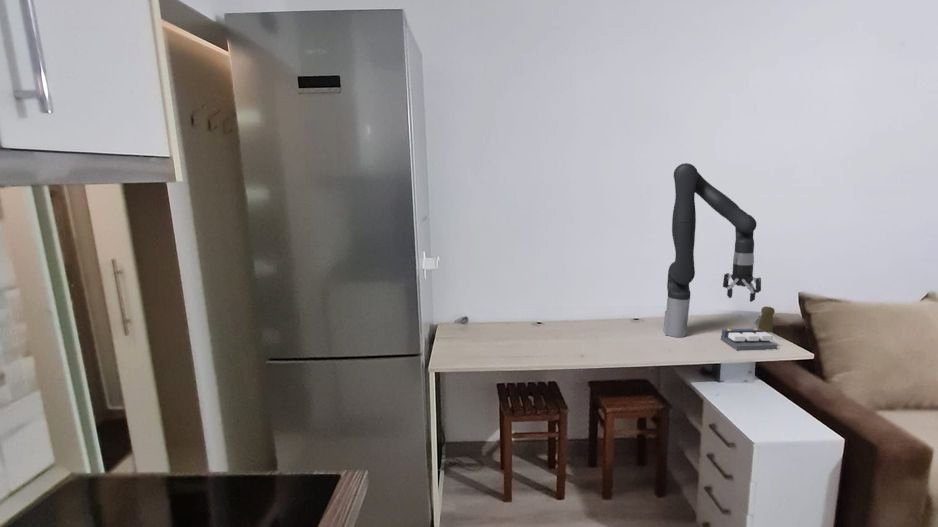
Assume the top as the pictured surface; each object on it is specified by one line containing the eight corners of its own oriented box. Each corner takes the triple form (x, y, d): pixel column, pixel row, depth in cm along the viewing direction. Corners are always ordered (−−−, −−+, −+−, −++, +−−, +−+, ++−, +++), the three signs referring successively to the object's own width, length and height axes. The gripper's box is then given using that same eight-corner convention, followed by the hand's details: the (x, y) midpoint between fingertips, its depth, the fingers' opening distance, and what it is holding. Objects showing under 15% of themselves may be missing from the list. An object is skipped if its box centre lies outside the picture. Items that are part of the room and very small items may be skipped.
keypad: (736, 350, 206) (738, 338, 205) (720, 339, 218) (722, 328, 217) (776, 349, 207) (778, 337, 206) (758, 339, 219) (759, 327, 218)
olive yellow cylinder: (774, 332, 227) (778, 309, 224) (760, 331, 228) (763, 308, 225) (769, 328, 232) (773, 305, 230) (755, 327, 234) (758, 304, 231)
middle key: (748, 340, 208) (748, 336, 208) (741, 336, 213) (742, 332, 212) (758, 340, 209) (759, 336, 208) (752, 336, 213) (752, 332, 213)
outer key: (762, 340, 209) (762, 336, 208) (755, 336, 213) (755, 332, 213) (772, 340, 209) (773, 335, 209) (765, 336, 214) (766, 332, 213)
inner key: (734, 341, 208) (735, 336, 208) (728, 337, 212) (728, 332, 212) (745, 341, 208) (745, 336, 208) (738, 337, 213) (739, 332, 212)
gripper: (721, 262, 212) (719, 298, 216) (758, 266, 201) (755, 304, 205) (729, 258, 217) (726, 294, 220) (765, 262, 206) (762, 300, 210)
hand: (740, 299), depth 213 cm, fingers open, 8 cm apart
